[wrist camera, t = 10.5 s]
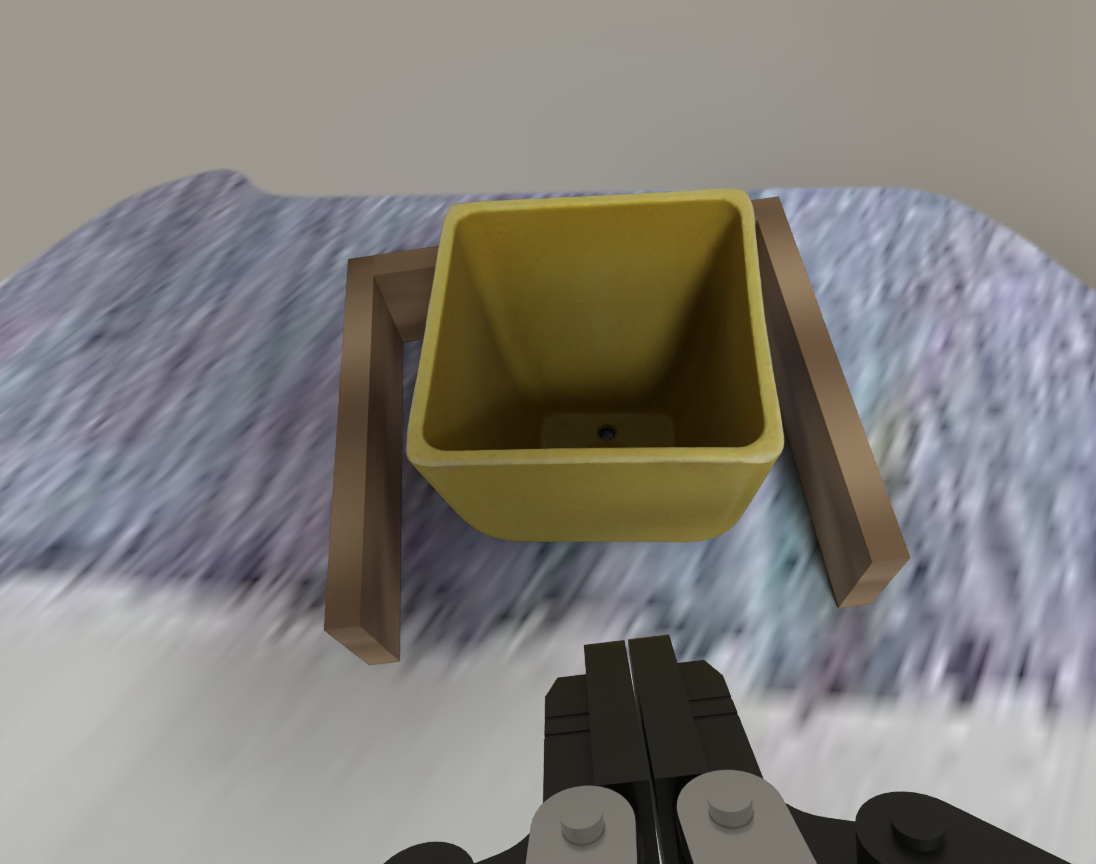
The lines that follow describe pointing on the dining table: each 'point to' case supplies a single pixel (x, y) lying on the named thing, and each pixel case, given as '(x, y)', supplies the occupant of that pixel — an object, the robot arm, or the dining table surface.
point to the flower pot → (597, 368)
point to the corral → (376, 438)
